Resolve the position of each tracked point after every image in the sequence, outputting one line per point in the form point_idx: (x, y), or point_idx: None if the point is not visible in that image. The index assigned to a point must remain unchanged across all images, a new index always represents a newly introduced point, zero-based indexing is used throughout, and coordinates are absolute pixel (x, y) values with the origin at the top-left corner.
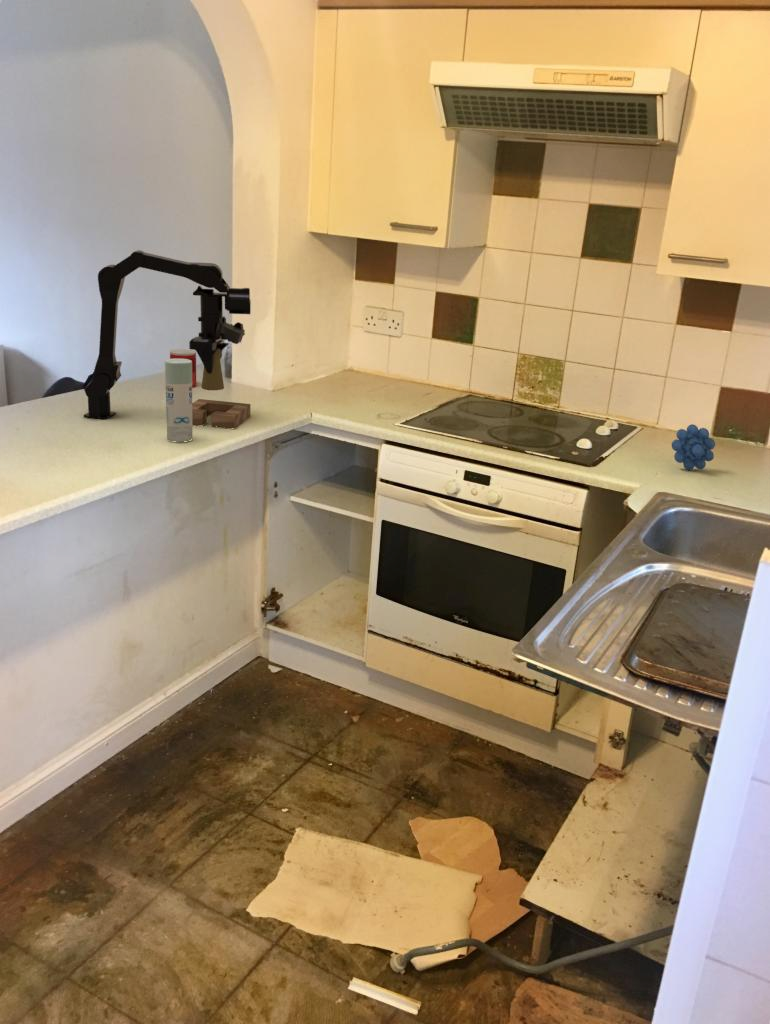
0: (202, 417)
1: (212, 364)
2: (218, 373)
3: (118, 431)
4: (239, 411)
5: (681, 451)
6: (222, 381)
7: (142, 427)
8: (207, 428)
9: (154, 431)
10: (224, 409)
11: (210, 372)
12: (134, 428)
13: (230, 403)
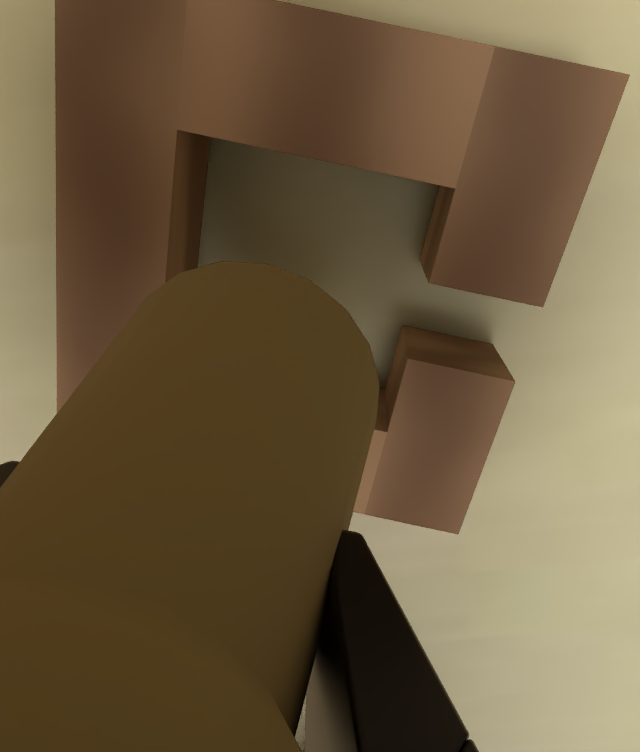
0: (504, 366)
1: (392, 659)
2: (290, 415)
3: (632, 718)
4: (409, 41)
5: None
6: (245, 303)
7: (548, 639)
8: (557, 302)
9: (636, 583)
10: (184, 227)
11: (366, 552)
12: (570, 667)
13: (111, 182)
